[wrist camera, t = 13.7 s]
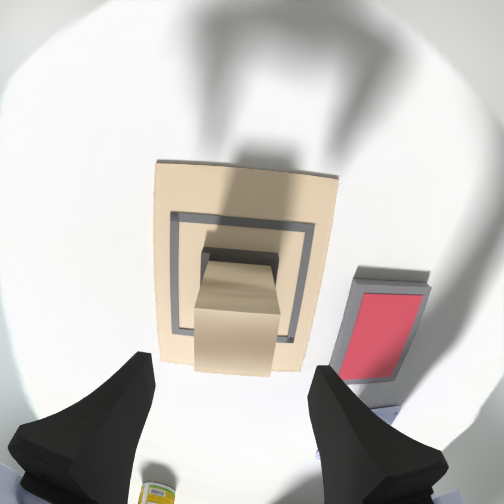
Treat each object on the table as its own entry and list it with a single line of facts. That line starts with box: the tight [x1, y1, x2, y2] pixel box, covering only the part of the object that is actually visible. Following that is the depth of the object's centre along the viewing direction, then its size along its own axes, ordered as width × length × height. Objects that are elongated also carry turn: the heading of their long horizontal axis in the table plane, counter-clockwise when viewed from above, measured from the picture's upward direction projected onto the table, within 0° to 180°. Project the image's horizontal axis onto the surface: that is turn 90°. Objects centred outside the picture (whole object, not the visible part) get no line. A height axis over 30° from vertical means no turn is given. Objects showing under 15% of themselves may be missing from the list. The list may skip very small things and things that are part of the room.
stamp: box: [194, 247, 281, 377], centre depth 17 cm, size 5×5×7 cm
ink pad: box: [329, 278, 432, 385], centre depth 22 cm, size 10×7×1 cm
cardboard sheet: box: [153, 163, 339, 372], centre depth 21 cm, size 16×12×1 cm
